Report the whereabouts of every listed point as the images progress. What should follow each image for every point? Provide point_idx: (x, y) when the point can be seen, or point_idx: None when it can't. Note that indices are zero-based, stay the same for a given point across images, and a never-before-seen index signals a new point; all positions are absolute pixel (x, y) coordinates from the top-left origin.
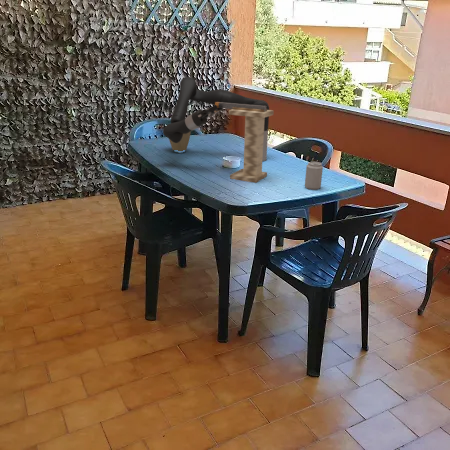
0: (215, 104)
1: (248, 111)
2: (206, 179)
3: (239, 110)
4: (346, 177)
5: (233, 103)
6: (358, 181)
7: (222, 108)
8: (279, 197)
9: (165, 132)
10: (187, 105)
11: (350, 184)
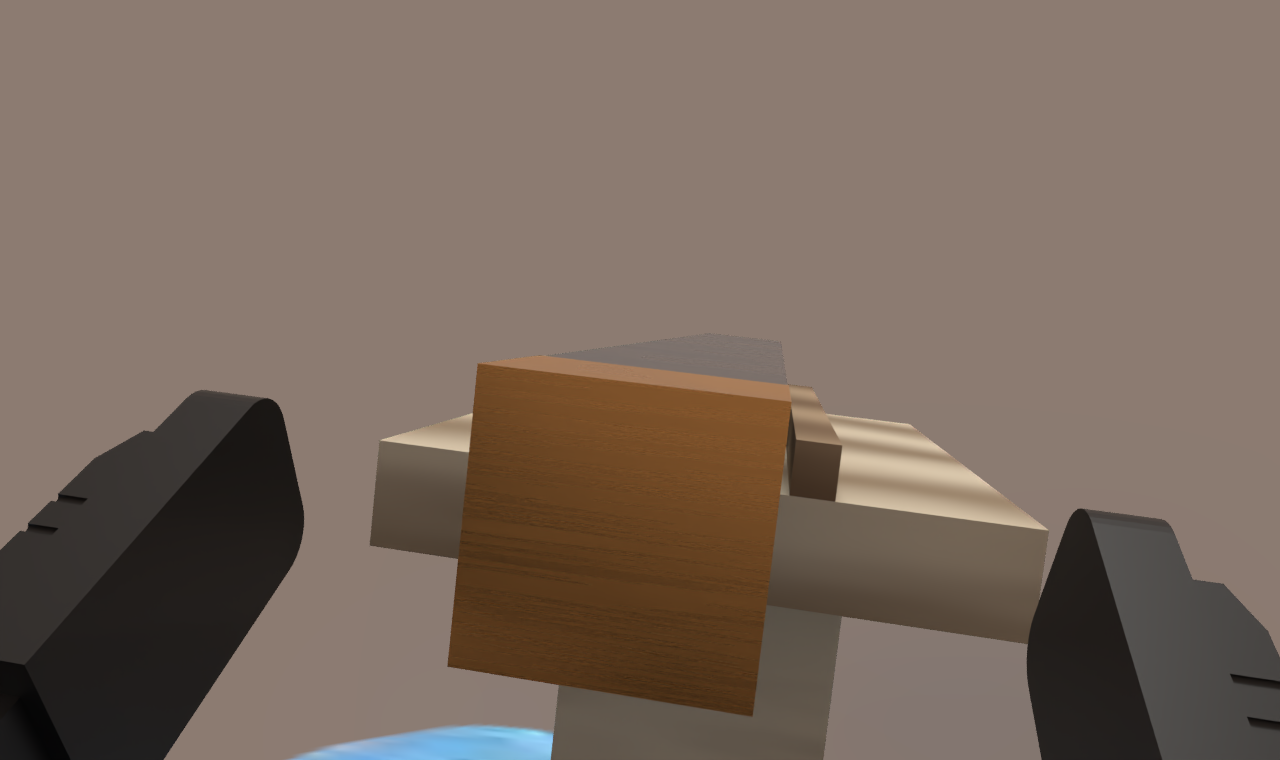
0: (770, 521)
1: (894, 449)
2: None
3: (894, 473)
4: (364, 756)
5: (678, 347)
6: (448, 728)
7: (223, 658)
8: None
9: None
10: None
11: (528, 755)
